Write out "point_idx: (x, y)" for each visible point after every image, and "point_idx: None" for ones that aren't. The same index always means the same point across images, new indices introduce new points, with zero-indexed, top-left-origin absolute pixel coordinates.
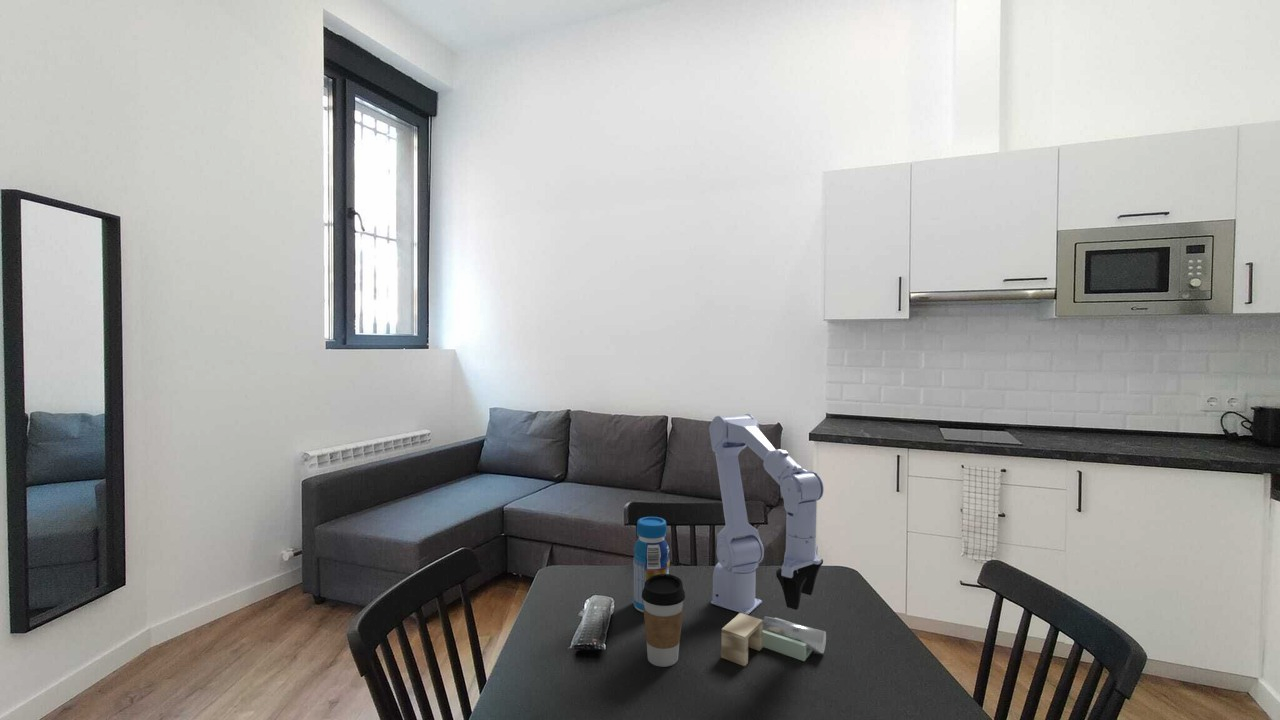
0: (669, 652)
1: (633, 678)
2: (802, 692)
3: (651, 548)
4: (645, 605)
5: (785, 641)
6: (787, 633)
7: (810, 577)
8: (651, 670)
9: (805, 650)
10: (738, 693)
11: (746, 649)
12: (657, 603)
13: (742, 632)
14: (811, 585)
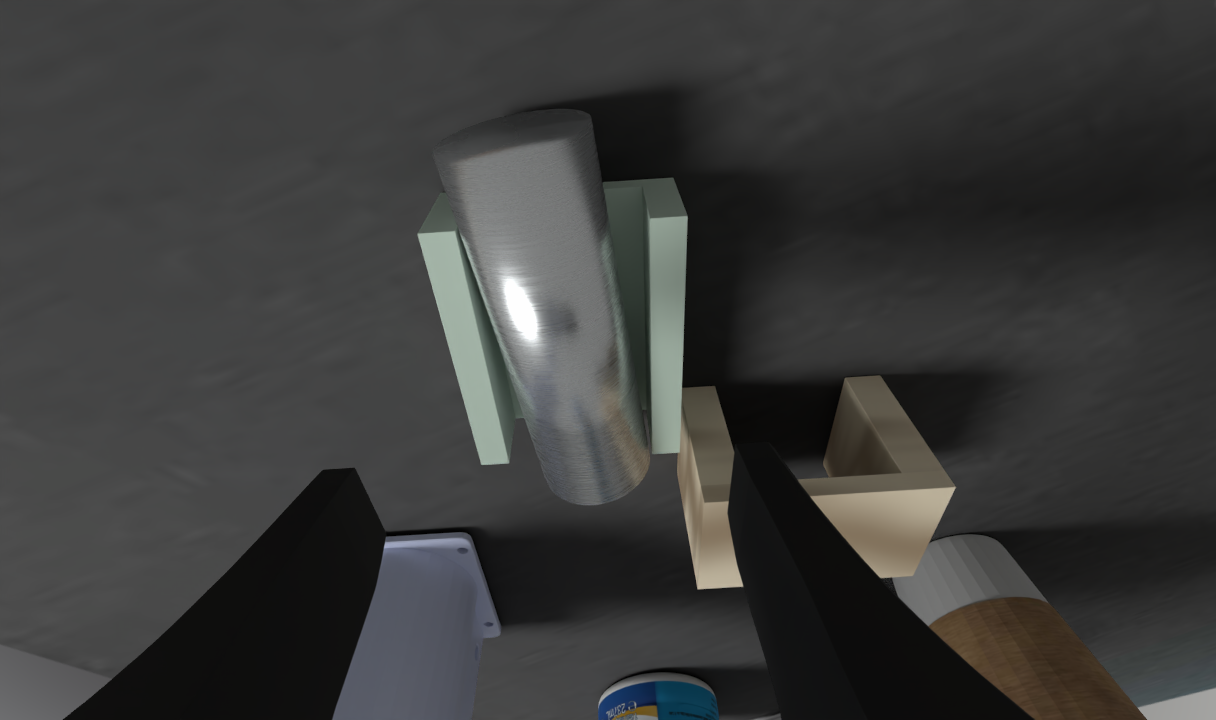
0: (1030, 584)
1: (1097, 563)
2: (1019, 41)
3: None
4: None
5: (681, 329)
6: (626, 355)
7: (256, 679)
8: (1034, 554)
9: (662, 202)
10: (1115, 303)
11: (895, 428)
12: None
13: (906, 512)
14: (303, 564)
